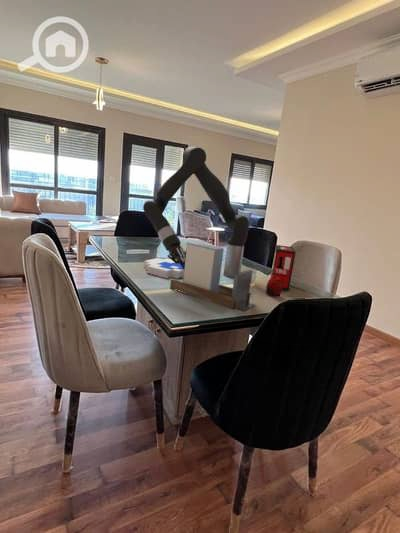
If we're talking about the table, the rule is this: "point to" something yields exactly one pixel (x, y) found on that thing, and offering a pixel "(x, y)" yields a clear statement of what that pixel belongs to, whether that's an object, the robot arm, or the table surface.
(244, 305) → the bookend
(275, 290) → the red clay folk toy
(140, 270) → the table surface
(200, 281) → the book
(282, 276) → the cleaning product box
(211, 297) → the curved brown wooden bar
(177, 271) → the stepped white slab
